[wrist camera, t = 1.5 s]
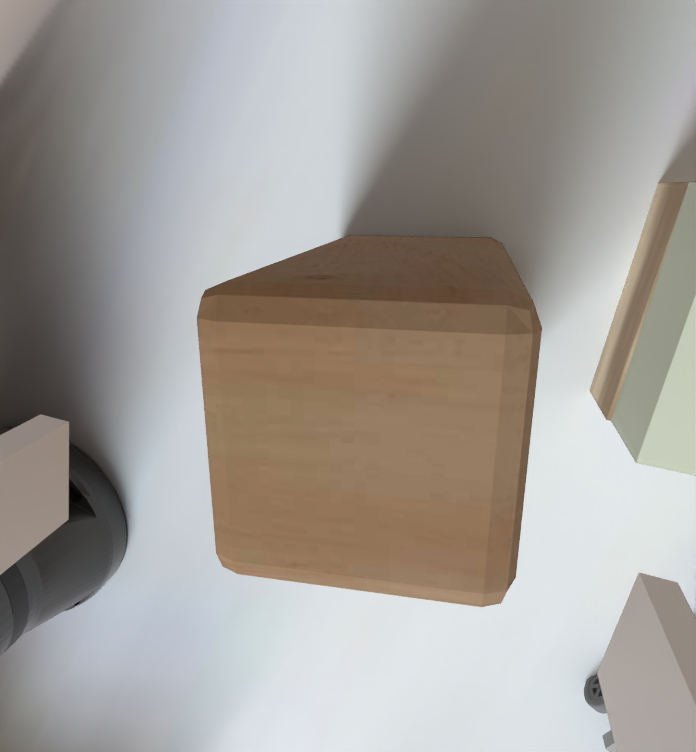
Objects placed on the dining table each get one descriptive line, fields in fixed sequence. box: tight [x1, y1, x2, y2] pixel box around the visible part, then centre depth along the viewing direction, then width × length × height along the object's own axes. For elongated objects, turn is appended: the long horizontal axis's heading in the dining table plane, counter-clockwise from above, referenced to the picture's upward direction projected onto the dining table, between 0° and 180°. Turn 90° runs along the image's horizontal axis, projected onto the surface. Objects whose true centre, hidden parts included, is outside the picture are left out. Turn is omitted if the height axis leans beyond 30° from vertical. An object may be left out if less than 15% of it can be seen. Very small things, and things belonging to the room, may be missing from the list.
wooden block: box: [197, 235, 542, 607], centre depth 26 cm, size 10×10×20 cm
